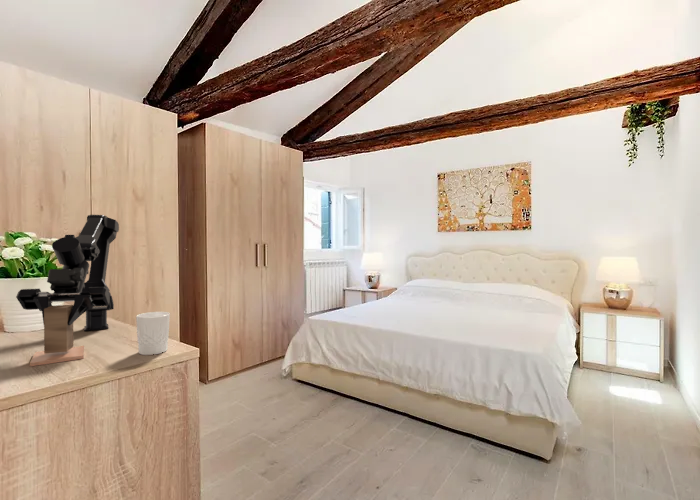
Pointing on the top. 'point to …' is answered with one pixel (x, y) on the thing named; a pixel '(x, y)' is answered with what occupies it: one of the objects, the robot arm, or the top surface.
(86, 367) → the top surface
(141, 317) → the white cup
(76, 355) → the terracotta tile
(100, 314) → the robot arm
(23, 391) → the top surface
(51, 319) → the walnut block
